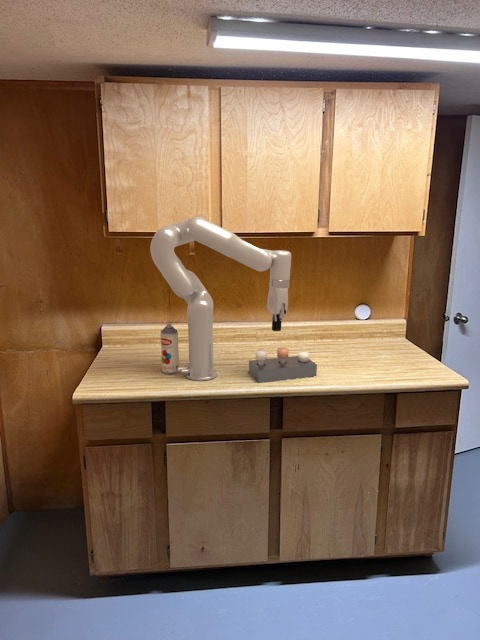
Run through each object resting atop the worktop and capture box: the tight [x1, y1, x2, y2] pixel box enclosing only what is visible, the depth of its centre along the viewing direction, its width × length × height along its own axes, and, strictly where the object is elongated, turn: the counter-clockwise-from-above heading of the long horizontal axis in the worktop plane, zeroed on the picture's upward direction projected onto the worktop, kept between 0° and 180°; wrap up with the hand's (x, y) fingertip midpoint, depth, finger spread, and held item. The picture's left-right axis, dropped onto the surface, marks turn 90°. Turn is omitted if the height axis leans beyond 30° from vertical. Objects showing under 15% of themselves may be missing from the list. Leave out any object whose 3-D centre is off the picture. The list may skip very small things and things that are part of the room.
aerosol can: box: [160, 322, 180, 375], centre depth 184 cm, size 7×7×20 cm
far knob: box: [297, 350, 310, 362], centre depth 185 cm, size 4×4×8 cm
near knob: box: [254, 349, 268, 366], centre depth 180 cm, size 4×4×8 cm
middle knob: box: [276, 347, 289, 364], centre depth 182 cm, size 4×4×8 cm
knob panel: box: [248, 355, 318, 384], centre depth 183 cm, size 24×12×5 cm, turn 107°
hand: (276, 330), depth 179 cm, fingers closed
